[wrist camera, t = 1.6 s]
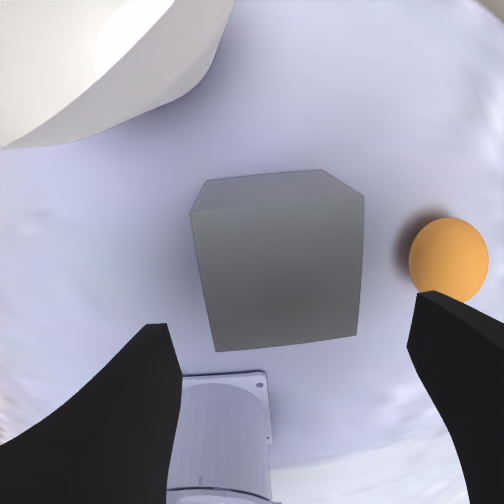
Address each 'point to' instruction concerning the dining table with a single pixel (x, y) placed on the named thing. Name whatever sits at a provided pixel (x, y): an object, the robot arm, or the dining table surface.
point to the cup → (98, 62)
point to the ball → (449, 259)
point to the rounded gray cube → (279, 258)
